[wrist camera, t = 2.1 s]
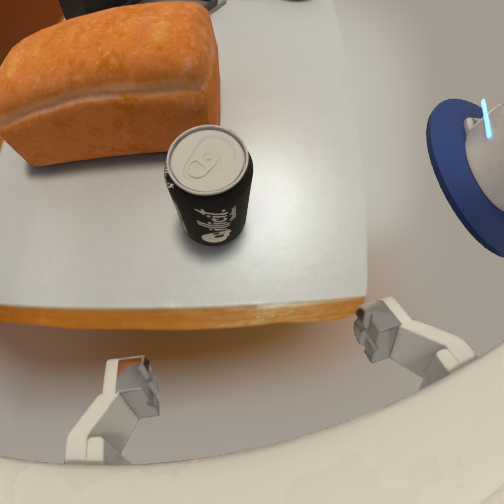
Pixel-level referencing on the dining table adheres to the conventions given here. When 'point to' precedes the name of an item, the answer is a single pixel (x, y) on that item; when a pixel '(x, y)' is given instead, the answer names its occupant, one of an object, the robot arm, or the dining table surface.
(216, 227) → the beverage can
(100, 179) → the dining table surface
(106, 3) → the coffee machine
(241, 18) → the dining table surface
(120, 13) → the bread
